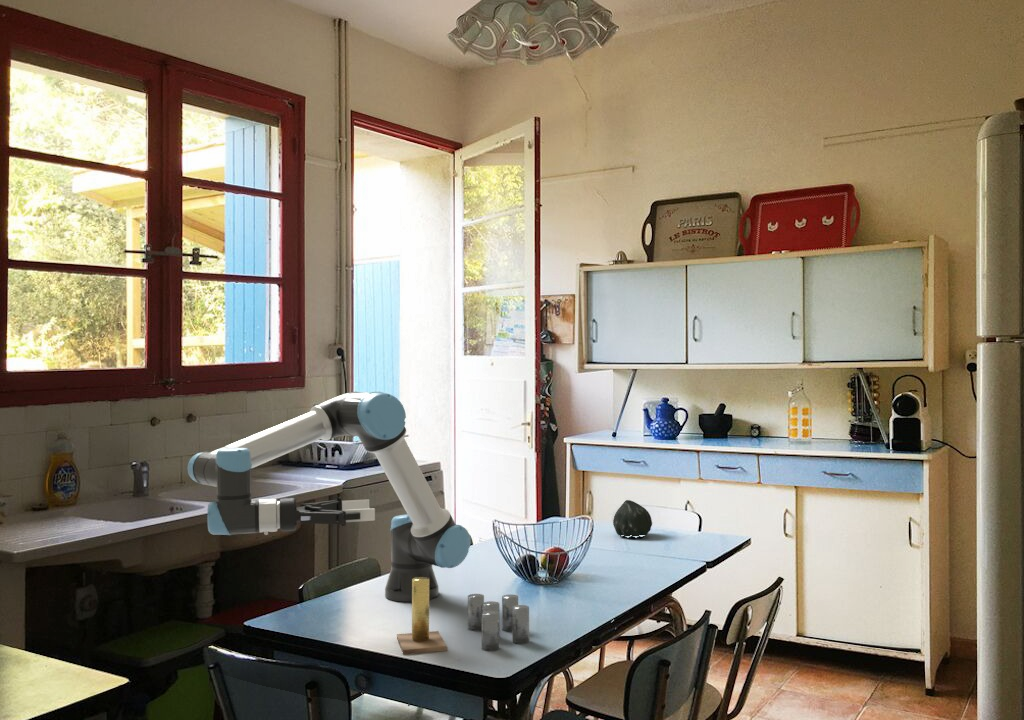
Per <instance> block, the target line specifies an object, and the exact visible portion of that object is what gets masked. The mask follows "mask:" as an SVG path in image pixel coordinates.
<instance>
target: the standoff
mask: <svg viewBox="0 0 1024 720" xmlns="http://www.w3.org/2000/svg"><path fill="white" fill-rule="evenodd" d="M429 632H430V599H429V578H427V577H416V578H413V579H412V602H411V633H412V640H413V641H418V642H421V641H427V640H429Z"/></svg>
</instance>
